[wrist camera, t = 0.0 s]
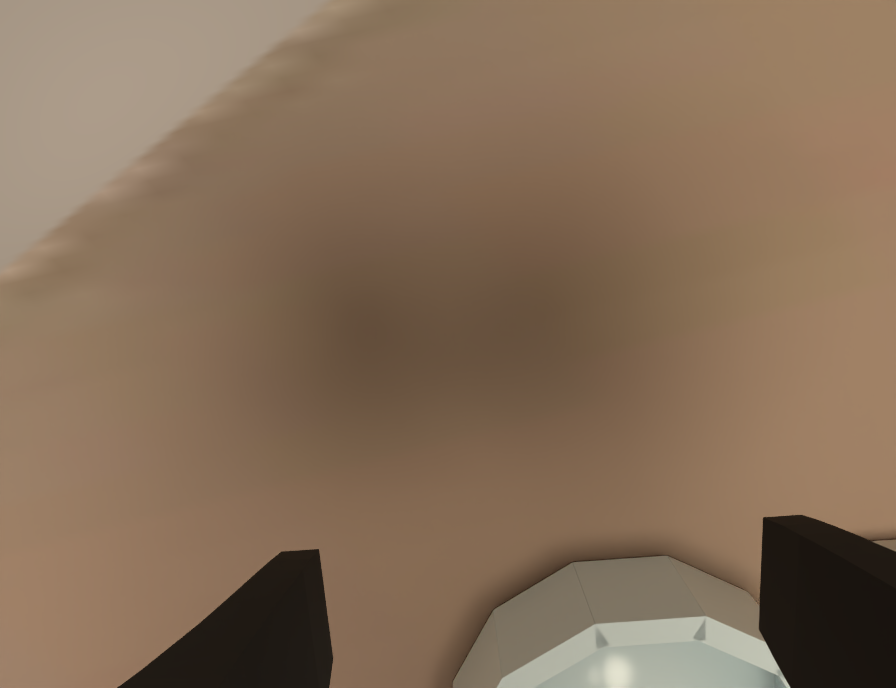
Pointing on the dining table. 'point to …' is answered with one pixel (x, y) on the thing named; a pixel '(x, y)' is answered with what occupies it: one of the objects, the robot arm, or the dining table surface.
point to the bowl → (624, 632)
